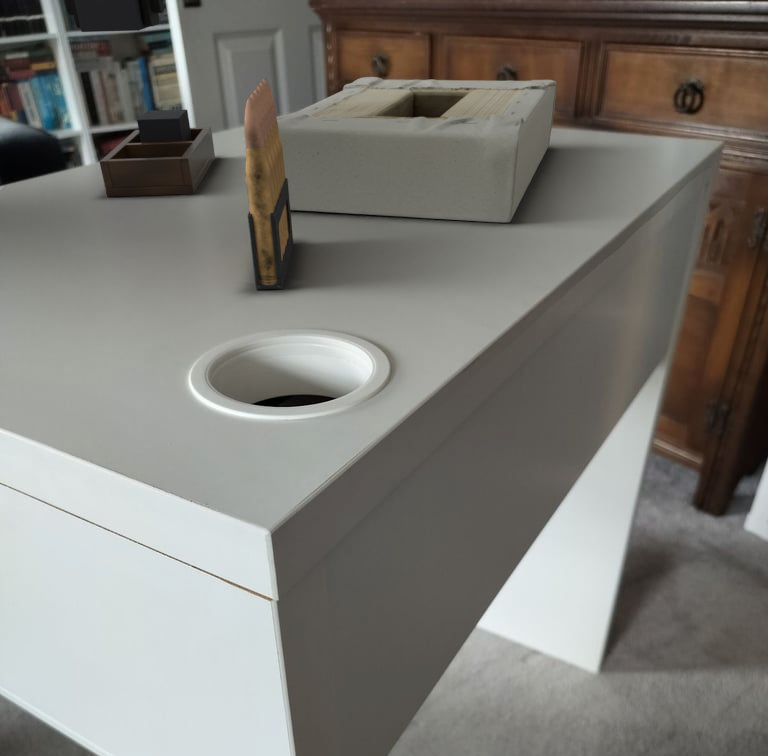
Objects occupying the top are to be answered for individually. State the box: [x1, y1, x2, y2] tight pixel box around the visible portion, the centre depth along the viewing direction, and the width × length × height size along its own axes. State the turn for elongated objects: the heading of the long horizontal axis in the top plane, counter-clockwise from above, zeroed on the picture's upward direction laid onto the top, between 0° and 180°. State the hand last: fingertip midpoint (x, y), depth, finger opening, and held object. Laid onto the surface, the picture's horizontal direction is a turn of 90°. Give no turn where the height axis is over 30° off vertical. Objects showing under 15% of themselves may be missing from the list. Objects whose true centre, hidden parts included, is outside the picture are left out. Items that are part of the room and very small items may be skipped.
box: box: [276, 76, 558, 223], centre depth 79 cm, size 23×8×32 cm
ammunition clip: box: [243, 78, 294, 291], centre depth 56 cm, size 11×2×12 cm, turn 1°
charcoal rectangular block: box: [136, 109, 192, 143], centre depth 86 cm, size 4×6×5 cm
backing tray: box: [99, 126, 216, 198], centre depth 83 cm, size 9×16×3 cm, turn 3°
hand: (118, 22), depth 61 cm, fingers closed on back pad, 4 cm apart
